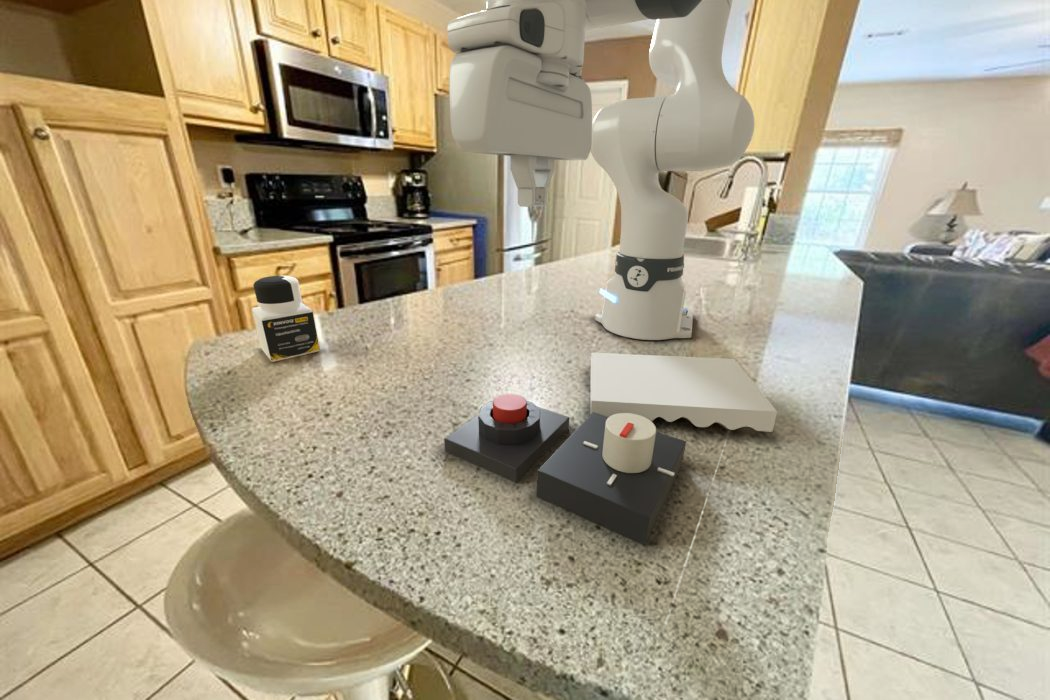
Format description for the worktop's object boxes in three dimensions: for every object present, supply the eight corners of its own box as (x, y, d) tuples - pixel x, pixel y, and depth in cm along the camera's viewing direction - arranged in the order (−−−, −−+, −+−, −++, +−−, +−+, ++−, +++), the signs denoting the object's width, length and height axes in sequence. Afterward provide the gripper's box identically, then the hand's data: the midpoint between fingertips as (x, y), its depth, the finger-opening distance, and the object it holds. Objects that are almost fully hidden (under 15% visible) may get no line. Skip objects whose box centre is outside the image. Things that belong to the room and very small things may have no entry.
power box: (504, 407, 53) (504, 382, 51) (569, 429, 48) (570, 403, 47) (444, 451, 44) (442, 423, 43) (516, 483, 40) (516, 453, 38)
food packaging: (590, 425, 50) (770, 437, 47) (591, 400, 48) (777, 411, 46) (590, 373, 63) (730, 380, 61) (591, 352, 62) (734, 358, 59)
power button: (505, 404, 47) (505, 390, 47) (532, 413, 45) (533, 399, 45) (486, 418, 44) (485, 403, 44) (514, 428, 43) (514, 414, 42)
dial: (612, 438, 41) (616, 405, 40) (656, 453, 39) (662, 418, 38) (594, 462, 38) (598, 426, 36) (643, 480, 36) (648, 442, 34)
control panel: (590, 434, 47) (592, 410, 46) (684, 466, 42) (689, 440, 41) (536, 497, 38) (537, 468, 37) (648, 548, 33) (653, 517, 32)
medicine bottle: (271, 363, 64) (253, 285, 59) (261, 349, 69) (243, 276, 64) (320, 351, 68) (307, 278, 64) (307, 339, 73) (294, 270, 68)
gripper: (559, 72, 48) (554, 201, 53) (431, 17, 32) (442, 209, 37) (611, 66, 45) (600, 203, 50) (499, 1, 29) (500, 213, 34)
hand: (532, 206), depth 43 cm, fingers closed
